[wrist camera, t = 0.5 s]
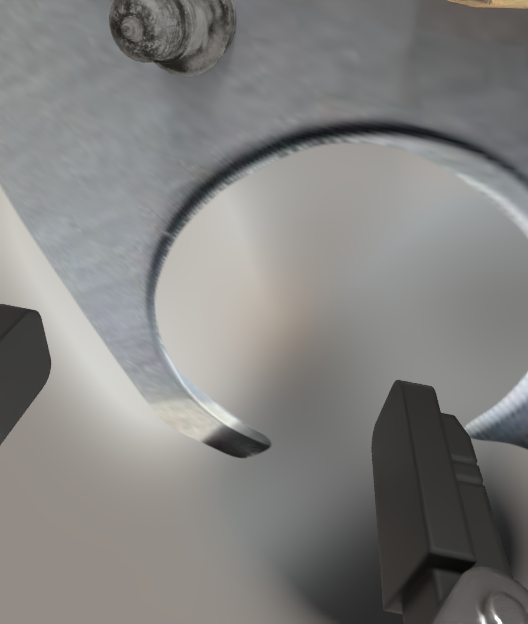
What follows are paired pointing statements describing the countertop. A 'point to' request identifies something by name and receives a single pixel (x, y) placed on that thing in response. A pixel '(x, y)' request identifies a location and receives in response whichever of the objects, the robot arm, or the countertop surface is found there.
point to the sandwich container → (494, 3)
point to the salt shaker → (174, 32)
